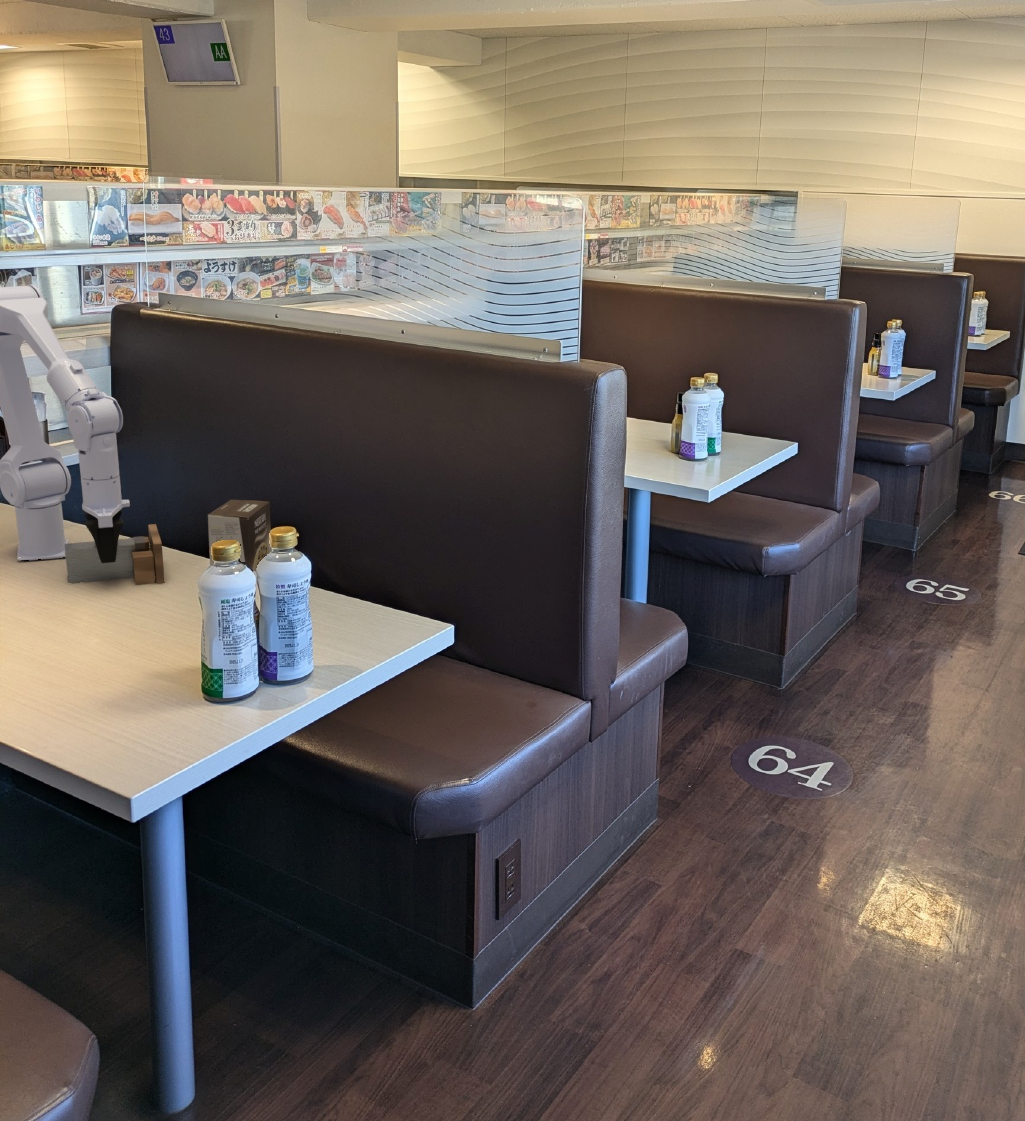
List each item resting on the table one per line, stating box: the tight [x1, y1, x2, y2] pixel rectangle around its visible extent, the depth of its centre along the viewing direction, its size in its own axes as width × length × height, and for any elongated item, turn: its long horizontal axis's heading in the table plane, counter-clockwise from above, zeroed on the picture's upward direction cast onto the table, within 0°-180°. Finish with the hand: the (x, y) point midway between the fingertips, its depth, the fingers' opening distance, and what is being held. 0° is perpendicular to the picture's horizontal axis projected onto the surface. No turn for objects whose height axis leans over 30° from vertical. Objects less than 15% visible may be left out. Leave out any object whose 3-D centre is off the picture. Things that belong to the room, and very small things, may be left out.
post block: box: [128, 523, 166, 585], centre depth 182 cm, size 11×4×6 cm, turn 22°
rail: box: [65, 535, 146, 584], centre depth 179 cm, size 4×12×6 cm, turn 112°
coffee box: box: [207, 499, 272, 571], centre depth 166 cm, size 9×6×16 cm
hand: (107, 558), depth 179 cm, fingers closed on rail, 3 cm apart
